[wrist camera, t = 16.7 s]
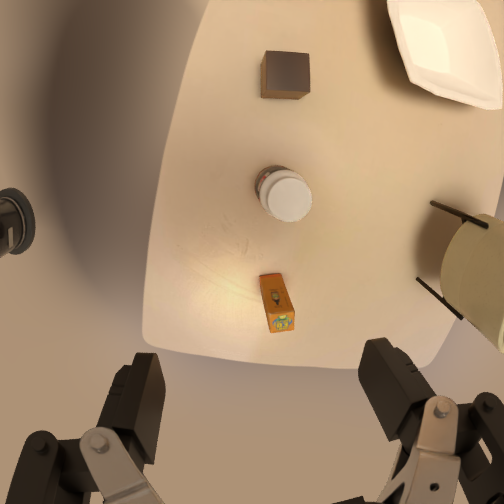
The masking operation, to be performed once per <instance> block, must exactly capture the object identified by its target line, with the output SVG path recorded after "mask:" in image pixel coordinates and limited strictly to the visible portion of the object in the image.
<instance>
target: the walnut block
mask: <svg viewBox="0 0 504 504" xmlns="http://www.w3.org/2000/svg"><path fill="white" fill-rule="evenodd" d="M308 93H310V63H309V54H307V53H296V52H283V51H266V52H265V54H264V57H263V60H262V62H261V98H277V99H297V100H299V99H300V98H302V97H303V96H305V95H306V94H308Z"/></svg>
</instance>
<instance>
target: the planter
mask: <svg viewBox="0 0 504 504" xmlns="http://www.w3.org/2000/svg"><path fill="white" fill-rule="evenodd" d="M430 204H431V205H432V206H435V207H437V208H439V209H442V210H444V211H447V212H449V213H451V214H454V215H456V216H458V217H461V219H462V224H463V225H462V226H461V227H460V228H459V229H458V231H457V232H456V233H455V235H454V237H453V238H452V240H451V242H450V244H449V246H448V248H447V250H446V253H445V256H444V259H443V263H442V267H441V274H440V286H441V291H442V294H443V298H442V297H441V296H440V295H439V294H437V293H436V292H435V291H434V290H433V289H432V288H430V287H429V286H428V285H427V284H426V283H425V282H423V281H422V280H421V279H420V278H419V277H417V278H416V281H418V282H419V283H420V284H421V285H422V286H423V287H425V288H426V289H427V290H428V291H429V292H430V293H431V294H433V295H434V296H435V297H436V298H437V299H438V300H439V301H440V302H441V303H443V304H444V305H445V306H446V307H447V308H448V309H449V310H450V311H451V312H452V313H453V314H455V315H456V316H457V317H458V318H459V319H460V320H462V319H463V318H464V317H465V318H466V319H467V320H468V321H469V322H470V323H471V324H472V325H474V327H476V329H478V330H479V331H480V332H481V333H482V334H483V335H484V336H485V337H486V338H487V339H488V340H489V341H490V342H491V343H492V344H493V345H494V346H495V347H496V348H497V349H498V350H499V351H500V352H501V353H503V354H504V222H503V221H501V220H499V219H496V218H494V217H492V216H489V215H486V214H479V215H476V216H470V215H468V214H466V213H463V212H461V211H458V210H456V209H453V208H451V207H448V206H446V205H443V204H441V203H438V202H435V201H433V200H432V201H430ZM452 306H453V307H454V308H455V309H456V310H455V309H454V308H453V307H452ZM462 315H463V316H464V317H463V316H462Z"/></svg>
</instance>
